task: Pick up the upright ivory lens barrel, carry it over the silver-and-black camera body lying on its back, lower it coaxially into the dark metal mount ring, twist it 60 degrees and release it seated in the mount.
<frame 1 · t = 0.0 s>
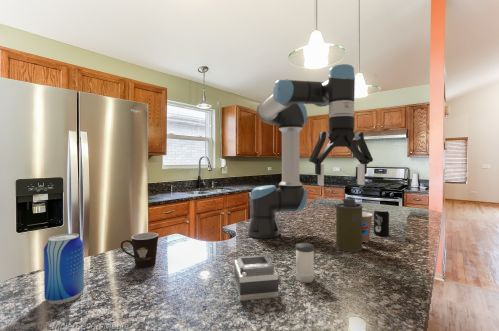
hand: (341, 185, 83), 28 cm above the countertop, fingers open, 13 cm apart
camera body: (254, 287, 75), on the countertop
beer can: (64, 298, 70), on the countertop
coffee mug: (141, 264, 92), on the countertop
canister: (349, 247, 110), on the countertop
beverage can: (381, 235, 128), on the countertop
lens: (304, 278, 81), on the countertop
coffee cup: (360, 240, 119), on the countertop
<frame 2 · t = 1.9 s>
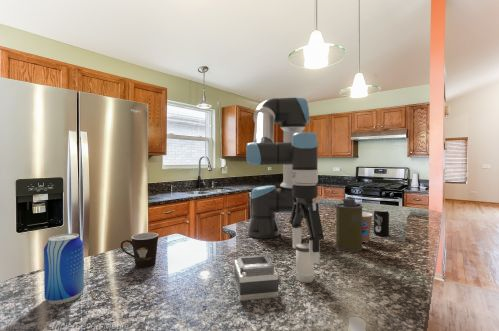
hand: (304, 254, 80), 7 cm above the countertop, fingers open, 13 cm apart
nothing on the countertop moved.
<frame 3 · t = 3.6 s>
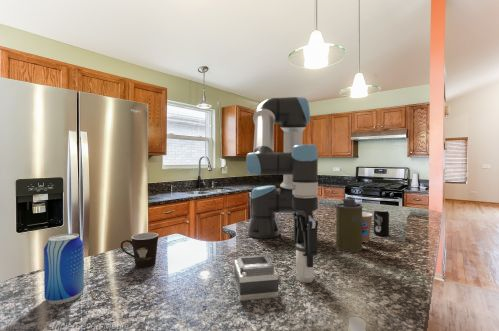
hand: (304, 272, 81), 2 cm above the countertop, fingers closed on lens, 5 cm apart
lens: (304, 278, 81), on the countertop, touching gripper
everything else where it was.
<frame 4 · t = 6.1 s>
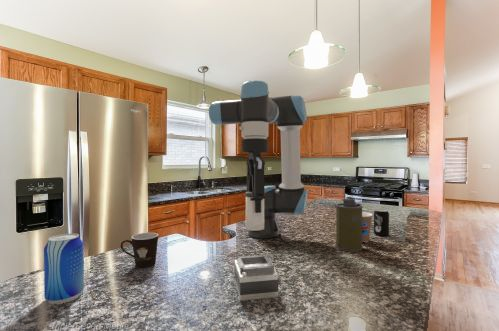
hand: (254, 221, 75), 19 cm above the countertop, fingers closed on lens, 5 cm apart
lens: (255, 228, 75), point 17 cm above the countertop, touching gripper
everything else where it was.
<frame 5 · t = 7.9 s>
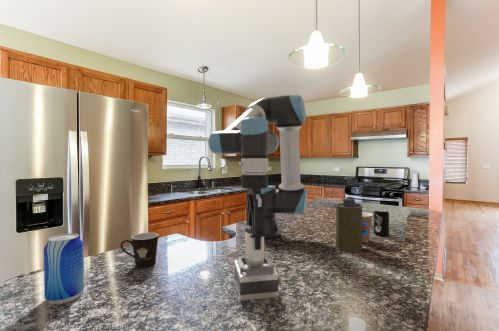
hand: (254, 256, 75), 9 cm above the countertop, fingers closed on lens, 5 cm apart
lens: (254, 263, 75), point 7 cm above the countertop, touching gripper
everything else where it was.
when the fingers open (8 cm above the countertop, at t = 9.1 s): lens stays where it is, resting on camera body.
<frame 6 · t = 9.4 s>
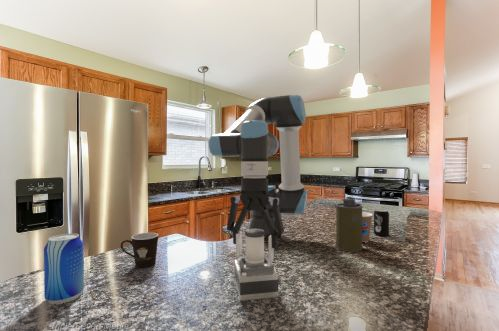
hand: (254, 257, 75), 9 cm above the countertop, fingers open, 9 cm apart
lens: (254, 266, 75), point 6 cm above the countertop, touching camera body
everything else where it was.
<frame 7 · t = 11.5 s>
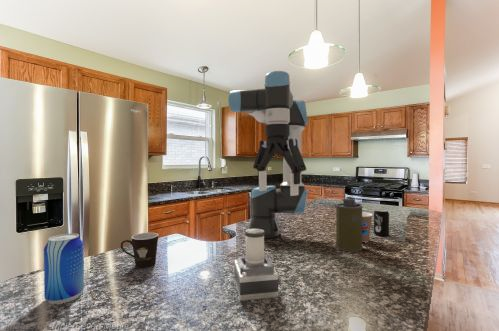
hand: (277, 193, 83), 26 cm above the countertop, fingers open, 13 cm apart
nothing on the countertop moved.
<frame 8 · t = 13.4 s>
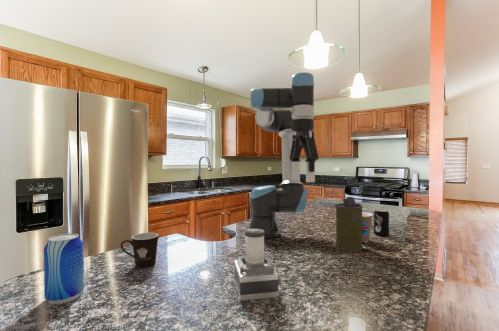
hand: (302, 180, 93), 29 cm above the countertop, fingers open, 13 cm apart
nothing on the countertop moved.
at the end: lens 0.0 cm off-centre on the camera body, point 6.0 cm above the camera body's base; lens tilted 0°; the gripper is holding nothing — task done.
